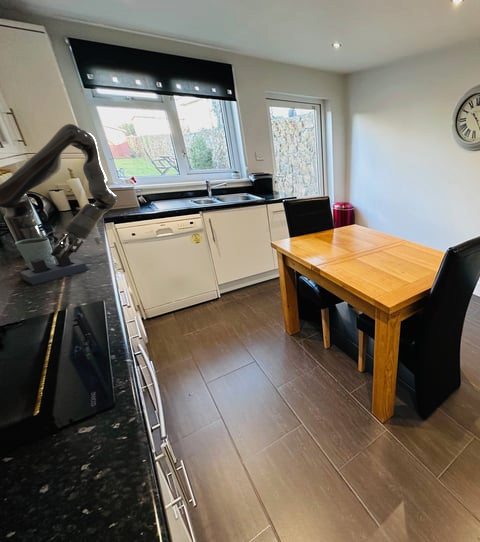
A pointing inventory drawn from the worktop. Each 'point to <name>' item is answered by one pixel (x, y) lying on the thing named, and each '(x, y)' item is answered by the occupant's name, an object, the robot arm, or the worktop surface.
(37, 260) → the mounted pad
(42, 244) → the drinking glass
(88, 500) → the worktop surface
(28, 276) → the pad mount
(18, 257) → the worktop surface
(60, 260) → the back pad
